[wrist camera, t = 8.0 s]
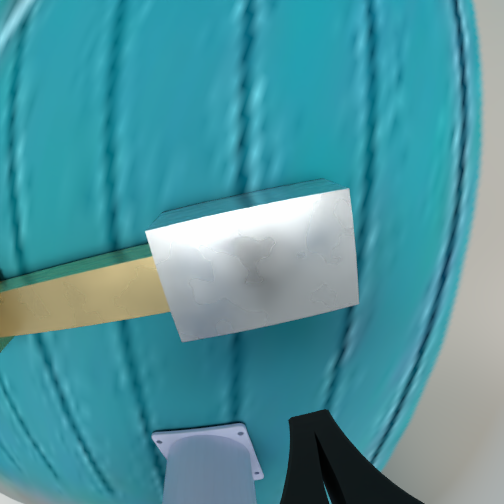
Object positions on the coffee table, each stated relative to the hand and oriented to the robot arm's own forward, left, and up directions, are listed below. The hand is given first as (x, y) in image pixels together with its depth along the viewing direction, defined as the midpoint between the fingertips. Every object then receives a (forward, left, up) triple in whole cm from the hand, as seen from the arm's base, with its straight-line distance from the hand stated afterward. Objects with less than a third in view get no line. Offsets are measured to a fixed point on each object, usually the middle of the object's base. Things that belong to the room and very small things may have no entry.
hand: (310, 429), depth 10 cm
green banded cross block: (+4, +15, -10) cm, 18 cm away
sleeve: (+4, +1, -10) cm, 11 cm away
